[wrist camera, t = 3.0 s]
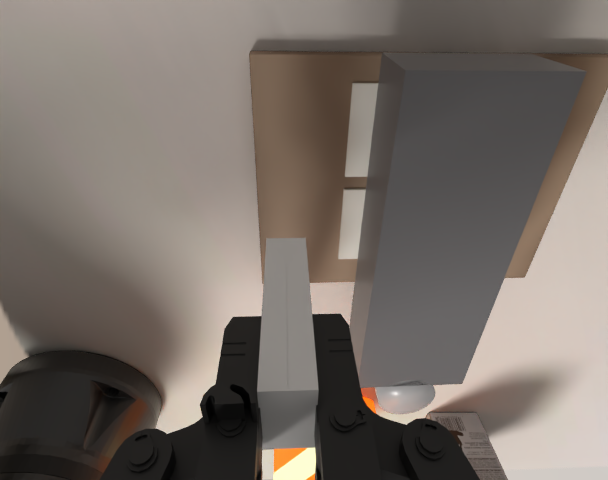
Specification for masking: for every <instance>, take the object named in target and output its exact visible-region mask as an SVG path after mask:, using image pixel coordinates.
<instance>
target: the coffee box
mask: <svg viewBox="0 0 608 480" xmlns="http://www.w3.org/2000/svg"><path fill="white" fill-rule="evenodd" d="M426 418H427V419H430V420H434V421H437V422H438V423H440V424H441V425H443V426H444V427H446V428H447V429H448V430H449V432H450V433H451V434H452V435H453V436H454V438H455V439H456V441H457V443H458V444H459V446H460V448H461V449H462V451H463V452H464V454H465V456H466V457H467V459H468V461H469V462H470V464H471V466H472V467H473V469H474V470H475V472H476V474H477V475H478V477H479V479H480V480H508V479H507V477H506V475H505V473H504V470H503V468H502V466H501V464H500V462H499V459H498V457H497V455H496V453H495V451H494V449H493V447H492V444H491V442H490V440H489V438H488V436H487V434H486V431H485V429H484V427H483V425H482V423H481V421H480V418H479V416H478V414H477V413H437V412H430V413H428V414H427V416H426Z"/></svg>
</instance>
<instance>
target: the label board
mask: <svg viewBox="0 0 608 480" xmlns="http://www.w3.org/2000/svg"><path fill="white" fill-rule="evenodd" d="M382 53H427V52H310V51H250V54H249V58H250V76H251V93H252V110H253V127H254V145H255V162H256V179H257V196H258V214H259V231H260V248H261V266H262V283H263V284H264V270H265V254H266V238H306V247H307V259H308V271H309V283H320V282H355V277H356V268H357V260H358V251H359V243H360V234H361V226H362V217H363V209H364V200H365V192H366V183H367V175H368V167H369V158H370V150H371V141H372V133H373V124H374V116H375V107H376V99H377V90H378V82H379V73H380V65H381V56H382ZM492 54H533V55H536V56H540V57H543V58H546V59H549V60H552V61H555V62H559V63H562V64H565V65H568V66H571V67H575V68H578V69H581V70H584V71H587V72H586V75H585V77H584V80H583V82H582V85H581V87H580V90H579V92H578V95H577V97H576V100H575V102H574V105H573V107H572V110H571V112H570V115H569V117H568V120H567V122H566V125H565V127H564V130H563V132H562V135H561V137H560V140H559V142H558V145H557V147H556V150H555V152H554V155H553V157H552V160H551V162H550V165H549V168H548V170H547V173H546V175H545V178H544V180H543V183H542V185H541V188H540V190H539V193H538V195H537V198H536V200H535V203H534V205H533V208H532V210H531V213H530V215H529V218H528V220H527V223H526V225H525V228H524V230H523V233H522V235H521V238H520V240H519V243H518V245H517V248H516V250H515V253H514V255H513V258H512V260H511V263H510V265H509V268H508V270H507V273H506V275H505V278H523V277H525V276H526V273H527V271H528V269H529V266H530V264H531V262H532V260H533V257H534V255H535V253H536V250H537V248H538V246H539V244H540V241H541V239H542V237H543V234H544V232H545V230H546V228H547V225H548V223H549V221H550V218H551V216H552V214H553V212H554V209H555V207H556V205H557V202H558V200H559V198H560V196H561V193H562V191H563V189H564V186H565V184H566V182H567V180H568V177H569V175H570V173H571V170H572V168H573V166H574V164H575V161H576V159H577V157H578V154H579V152H580V150H581V148H582V145H583V143H584V141H585V138H586V136H587V134H588V132H589V129H590V127H591V125H592V122H593V120H594V118H595V116H596V113H597V111H598V109H599V106H600V104H601V102H602V100H603V97H604V95H605V93H606V90H607V88H608V54H543V53H492Z"/></svg>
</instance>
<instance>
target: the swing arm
mask: <svg viewBox="0 0 608 480" xmlns="http://www.w3.org/2000/svg"><path fill="white" fill-rule="evenodd" d="M586 72H587V71H584V70H581V69H578V68H575V67H571V66H568V65H565V64H562V63H559V62H555V61H552V60H549V59H546V58H543V57H540V56H536V55H533V54H492V53H382V56H381V65H380V73H379V82H378V90H377V99H376V107H375V116H374V124H373V133H372V141H371V150H370V158H369V167H368V175H367V183H366V192H365V200H364V209H363V217H362V226H361V234H360V243H359V251H358V260H357V268H356V277H355V285H354V294H353V302H352V311H351V319H350V328H349V329H350V334H351V342H352V345H353V352H354V356H355V361H356V367H357V372H358V377H359V383H360V388H368V387H375V391H376V395H377V399H378V403H379V406H380V407H381V408H382V409H383V410H384V411H386V412H389V413H393V414H408V413H413V412H416V411H419V410H421V409H423V408H425V407H426V406H428V405H429V404H430V403H431V402H432V401H433V399H434V397H435V389H434V387H433V385H443V384H462V383H463V380H464V378H465V375H466V373H467V370H468V368H469V365H470V363H471V360H472V358H473V355H474V353H475V350H476V348H477V345H478V343H479V340H480V338H481V335H482V333H483V330H484V328H485V325H486V323H487V320H488V318H489V315H490V313H491V310H492V308H493V305H494V303H495V300H496V298H497V295H498V293H499V290H500V288H501V285H502V283H503V280H504V278H505V275H506V273H507V270H508V268H509V265H510V263H511V260H512V258H513V255H514V253H515V250H516V248H517V245H518V243H519V240H520V238H521V235H522V233H523V230H524V228H525V225H526V223H527V220H528V218H529V215H530V213H531V210H532V208H533V205H534V203H535V200H536V198H537V195H538V193H539V190H540V188H541V185H542V183H543V180H544V178H545V175H546V173H547V170H548V168H549V165H550V162H551V160H552V157H553V155H554V152H555V150H556V147H557V145H558V142H559V140H560V137H561V135H562V132H563V130H564V127H565V125H566V122H567V120H568V117H569V115H570V112H571V110H572V107H573V105H574V102H575V100H576V97H577V95H578V92H579V90H580V87H581V85H582V82H583V80H584V77H585V75H586Z"/></svg>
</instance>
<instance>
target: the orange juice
mask: <svg viewBox="0 0 608 480" xmlns="http://www.w3.org/2000/svg"><path fill="white" fill-rule="evenodd" d="M363 399H364V401H365V403H366V404H367V406H368V407H369V408H370V409H371V410H372V411H373V412H374V413H376V411H375V407H374V402H373V400H370V399H368V398H366V397H364V396H363ZM315 467H316V454H315V448H290V449H274V477H273V480H315Z"/></svg>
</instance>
